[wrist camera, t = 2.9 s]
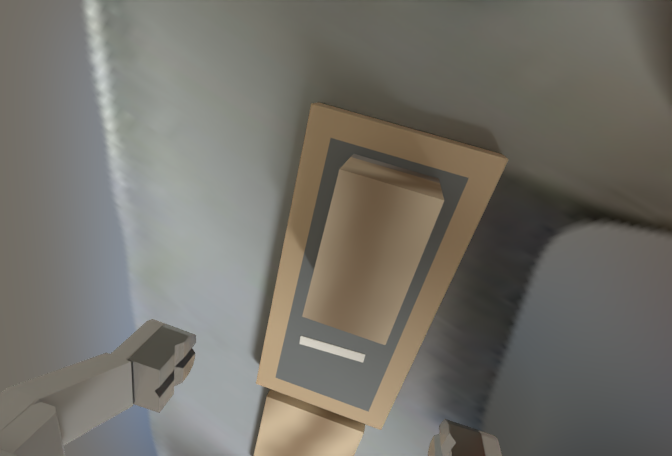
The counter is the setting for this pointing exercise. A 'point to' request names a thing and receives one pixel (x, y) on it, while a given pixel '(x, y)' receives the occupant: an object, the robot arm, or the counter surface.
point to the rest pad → (304, 430)
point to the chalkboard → (426, 286)
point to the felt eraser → (371, 246)
